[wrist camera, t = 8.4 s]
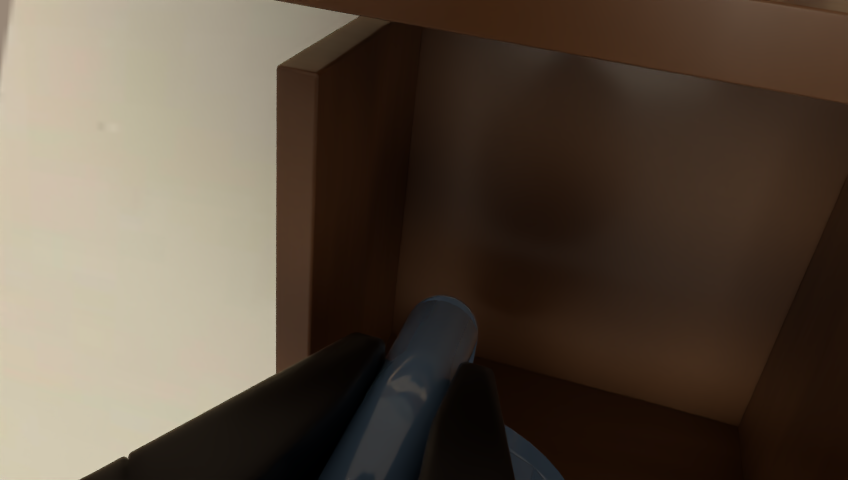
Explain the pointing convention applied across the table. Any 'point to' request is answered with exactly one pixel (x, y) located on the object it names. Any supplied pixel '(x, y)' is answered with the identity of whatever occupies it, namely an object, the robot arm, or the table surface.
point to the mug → (418, 401)
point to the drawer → (588, 217)
